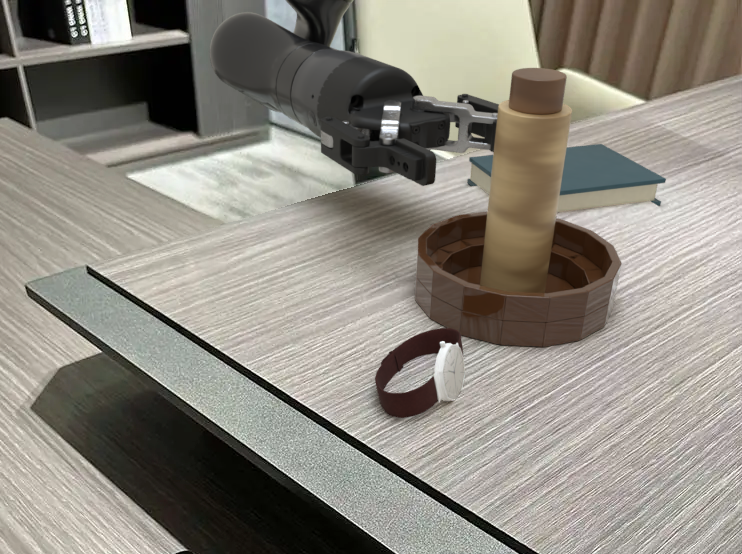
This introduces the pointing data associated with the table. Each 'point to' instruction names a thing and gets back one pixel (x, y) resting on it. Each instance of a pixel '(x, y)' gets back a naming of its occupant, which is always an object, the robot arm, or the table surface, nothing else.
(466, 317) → the bowl
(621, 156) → the book
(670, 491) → the table surface
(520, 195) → the pepper mill
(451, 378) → the watch
